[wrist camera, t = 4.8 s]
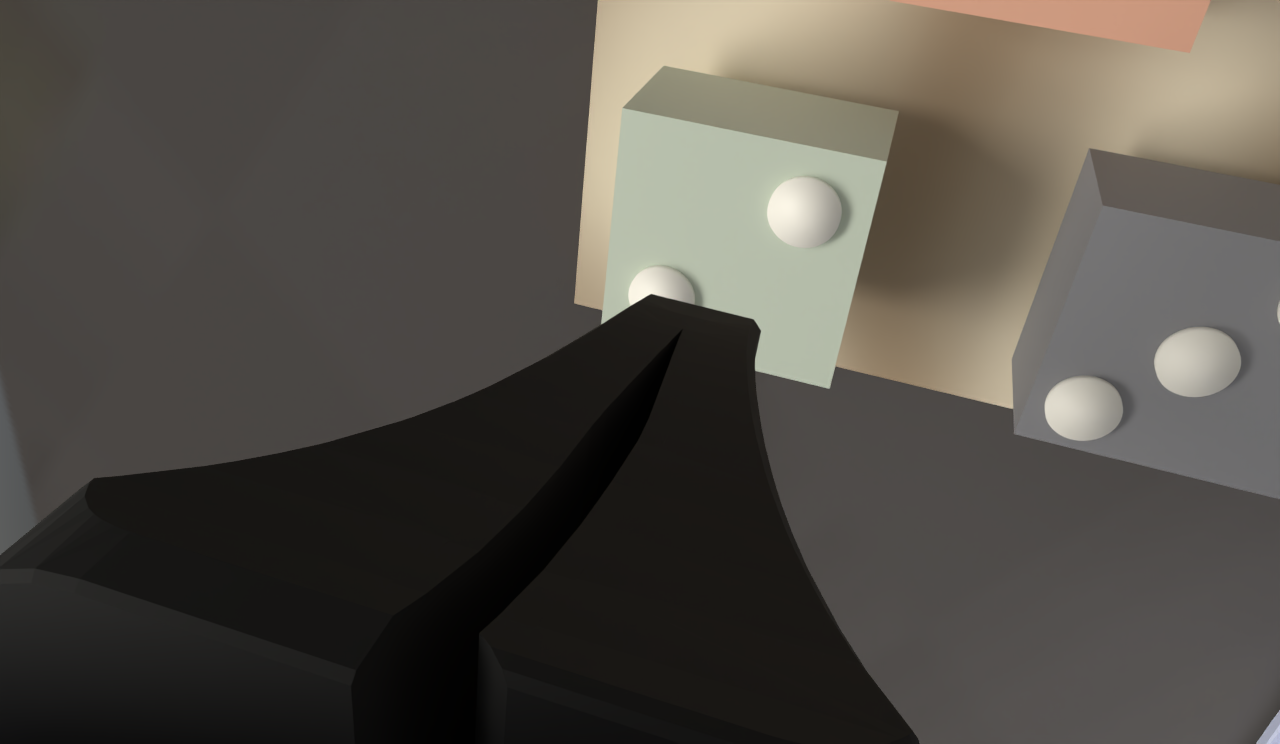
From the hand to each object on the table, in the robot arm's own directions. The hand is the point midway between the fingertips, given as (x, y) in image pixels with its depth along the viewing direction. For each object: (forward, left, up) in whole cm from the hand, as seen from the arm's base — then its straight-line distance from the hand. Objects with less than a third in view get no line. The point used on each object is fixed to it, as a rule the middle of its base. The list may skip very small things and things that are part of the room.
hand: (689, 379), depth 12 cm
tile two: (0, +1, -7) cm, 7 cm away
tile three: (-7, +1, -7) cm, 10 cm away
